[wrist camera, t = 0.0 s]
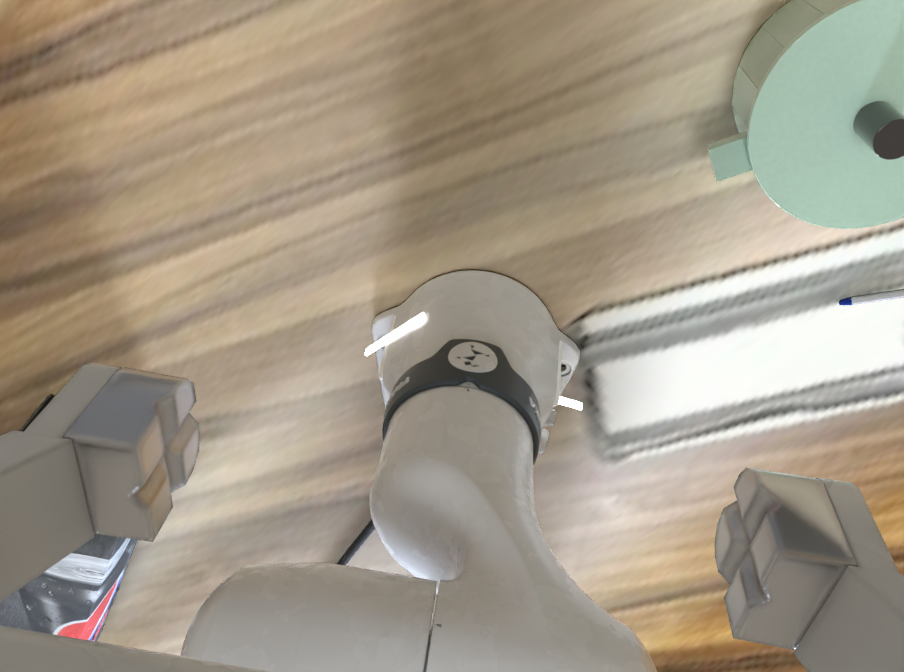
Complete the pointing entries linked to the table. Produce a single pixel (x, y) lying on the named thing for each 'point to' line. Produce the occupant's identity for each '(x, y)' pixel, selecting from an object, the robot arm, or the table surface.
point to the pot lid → (835, 119)
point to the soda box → (71, 587)
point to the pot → (761, 77)
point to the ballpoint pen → (872, 298)
